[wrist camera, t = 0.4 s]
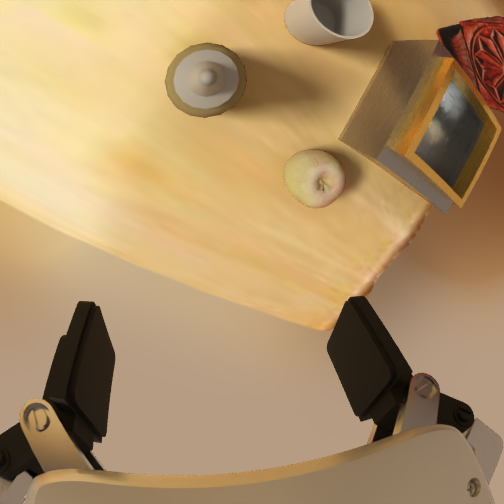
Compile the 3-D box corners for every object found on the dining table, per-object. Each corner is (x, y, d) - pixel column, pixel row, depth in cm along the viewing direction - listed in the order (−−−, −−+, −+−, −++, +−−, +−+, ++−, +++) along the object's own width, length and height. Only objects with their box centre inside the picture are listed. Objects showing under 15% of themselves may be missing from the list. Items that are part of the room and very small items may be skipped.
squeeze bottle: (247, 99, 31) (293, 114, 16) (185, 124, 31) (171, 162, 17) (224, 41, 26) (249, 0, 11) (160, 67, 27) (119, 51, 12)
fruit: (282, 199, 39) (300, 227, 33) (274, 149, 35) (293, 166, 28) (332, 188, 40) (358, 213, 33) (328, 140, 35) (357, 155, 29)
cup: (271, 22, 25) (293, 5, 18) (316, -23, 22) (347, -44, 14) (316, 56, 29) (349, 52, 21) (357, 11, 25) (396, 1, 18)
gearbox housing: (392, 41, 28) (453, 40, 17) (453, 103, 33) (508, 122, 23) (338, 139, 35) (389, 167, 25) (407, 187, 41) (456, 223, 31)
